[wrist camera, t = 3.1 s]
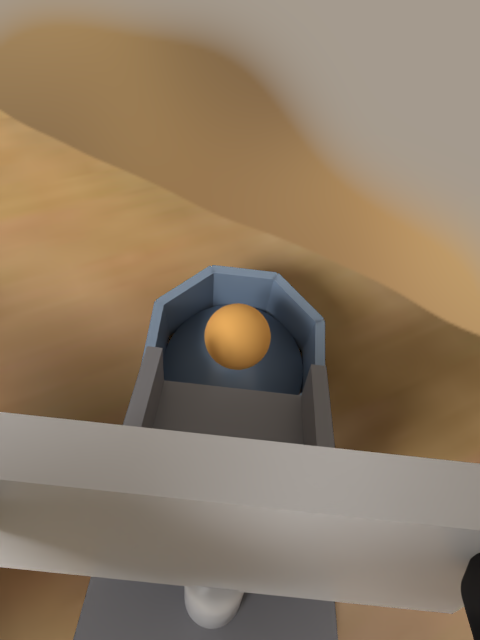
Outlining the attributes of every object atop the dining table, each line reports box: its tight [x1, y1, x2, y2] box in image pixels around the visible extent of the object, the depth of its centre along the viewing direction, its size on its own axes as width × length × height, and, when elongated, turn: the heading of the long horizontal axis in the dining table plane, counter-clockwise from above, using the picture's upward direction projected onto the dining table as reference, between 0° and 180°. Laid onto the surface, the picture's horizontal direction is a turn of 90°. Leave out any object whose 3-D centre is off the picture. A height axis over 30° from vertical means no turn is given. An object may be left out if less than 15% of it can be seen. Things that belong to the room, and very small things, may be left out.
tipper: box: [0, 346, 480, 640], centre depth 12 cm, size 10×11×8 cm
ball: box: [204, 303, 271, 370], centre depth 21 cm, size 3×3×3 cm
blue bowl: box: [141, 265, 325, 395], centre depth 24 cm, size 9×9×4 cm
